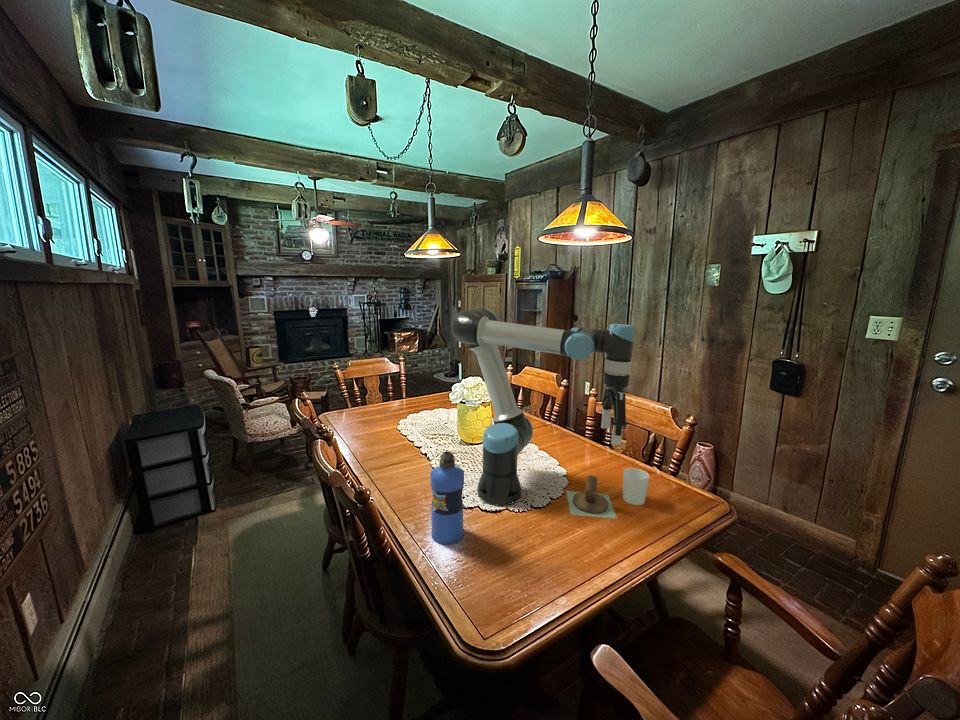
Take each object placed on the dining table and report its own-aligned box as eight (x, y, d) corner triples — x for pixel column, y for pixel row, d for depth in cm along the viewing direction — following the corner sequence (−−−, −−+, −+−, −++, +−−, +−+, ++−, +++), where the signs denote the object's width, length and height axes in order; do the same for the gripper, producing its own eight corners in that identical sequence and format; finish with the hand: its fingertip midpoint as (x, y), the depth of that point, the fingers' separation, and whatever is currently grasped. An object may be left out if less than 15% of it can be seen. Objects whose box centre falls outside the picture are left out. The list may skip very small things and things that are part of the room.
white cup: (619, 503, 123) (622, 475, 121) (622, 492, 130) (625, 465, 128) (645, 510, 120) (648, 481, 118) (647, 498, 127) (650, 471, 125)
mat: (570, 516, 116) (570, 514, 116) (566, 492, 130) (566, 490, 129) (617, 520, 114) (617, 518, 114) (607, 495, 128) (607, 494, 128)
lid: (574, 512, 117) (576, 485, 115) (571, 493, 128) (572, 468, 126) (611, 515, 116) (613, 488, 114) (604, 496, 126) (606, 471, 125)
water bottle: (447, 520, 113) (446, 442, 109) (470, 533, 107) (471, 451, 103) (424, 535, 106) (422, 453, 101) (447, 550, 100) (447, 463, 96)
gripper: (642, 383, 106) (634, 453, 110) (618, 365, 130) (611, 422, 135) (615, 382, 107) (608, 451, 111) (596, 364, 131) (590, 421, 135)
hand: (610, 435), depth 123 cm, fingers open, 13 cm apart
